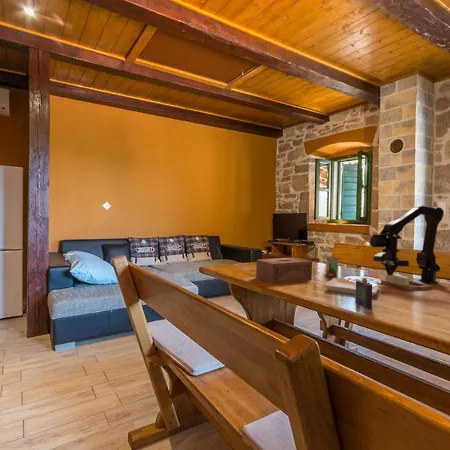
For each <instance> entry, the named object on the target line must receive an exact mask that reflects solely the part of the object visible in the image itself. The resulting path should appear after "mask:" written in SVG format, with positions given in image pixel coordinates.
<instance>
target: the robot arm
mask: <svg viewBox="0 0 450 450" xmlns="http://www.w3.org/2000/svg"><path fill="white" fill-rule="evenodd" d="M421 215H423V216H424V221H425V222H426V225H425V231H424V232H425V233H424V238H423V245H422V249H421V251H420V252H417V253H416V257H415V260H416V264H417V265H418V269H419V270H421V274H420V279H418V281H419V282H424V283H428V284H434V283H439V281H437V273H438V272H440V270H441V267H440V266H439V265H438V263H437V262H436V259H437V258H436V255H435V252H434V248H435V244H436V236H437V232H438V225H439V224H440V223H441V221H442V220H443V219H444V218H443V217H444V215H445V211H444V210H443V208H441V207H436V206H434V207H431V206H426V205H415V206H414V207H413V208H411V209H410V210H409V211H407V212H406V213H405V214H404V215H402V216H401V217H399V218H398V219H397V218H396V219H394V220H392V221H390V222H389V221H388V222H387V223H385V224H384V225H383V229H382V230H381V231H380V233H379V234H376V233H372V236H371V237H370V239H369V244H370V247H371V248H382V251H381V252H378V253H376V254H374V256H373V260H372V261H374V262H380V263H381V264H380V265H382V266H384V268H385V271H386V274H387V275H394V272H395V271H396V270H397V269H398V267H409V266H410V261H408V260H406V259H402V258H401V259H399V257H398V253H399V252H400V249H398V243H399V242H398V241H399V240H402V239H403V237H401V236H400V233H401V232H402V231H403V229H404V228H405V227H406V225H408V224H409V223H410V222H412V221H413V220H415V219H416V218H418V217H419V216H421Z"/></svg>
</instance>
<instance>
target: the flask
mask: <svg viewBox="0 0 450 450" xmlns="http://www.w3.org/2000/svg"><path fill="white" fill-rule="evenodd" d="M361 279H362V280H359V279H358V280H356V279H355V280H356V295H355V296H354V297H355V298H354V303H355V304H357V305H359V306H361V307H363V308H365V309H368V310H372V309H373V295H372V284H370V283H369V282H370V281H368V277H362V278H361ZM367 282H368V283H367Z"/></svg>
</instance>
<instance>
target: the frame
mask: <svg viewBox="0 0 450 450" xmlns="http://www.w3.org/2000/svg"><path fill="white" fill-rule="evenodd" d="M380 281H381V284H380V285H385V286H387V287H390V288H394V289H397V290H401V291H404V292H406V291H407V292H408V291H409V292H410V291H426V290H428V291H429V290H432V289H433V285H429V284H424V283H421V282H418V281H413V280H410V279H409V286H403V285H398V284H393V283H390V282H386V280H380Z"/></svg>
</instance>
